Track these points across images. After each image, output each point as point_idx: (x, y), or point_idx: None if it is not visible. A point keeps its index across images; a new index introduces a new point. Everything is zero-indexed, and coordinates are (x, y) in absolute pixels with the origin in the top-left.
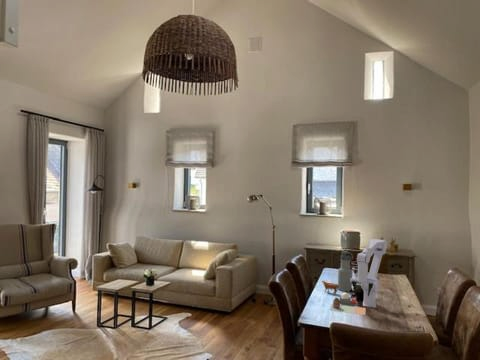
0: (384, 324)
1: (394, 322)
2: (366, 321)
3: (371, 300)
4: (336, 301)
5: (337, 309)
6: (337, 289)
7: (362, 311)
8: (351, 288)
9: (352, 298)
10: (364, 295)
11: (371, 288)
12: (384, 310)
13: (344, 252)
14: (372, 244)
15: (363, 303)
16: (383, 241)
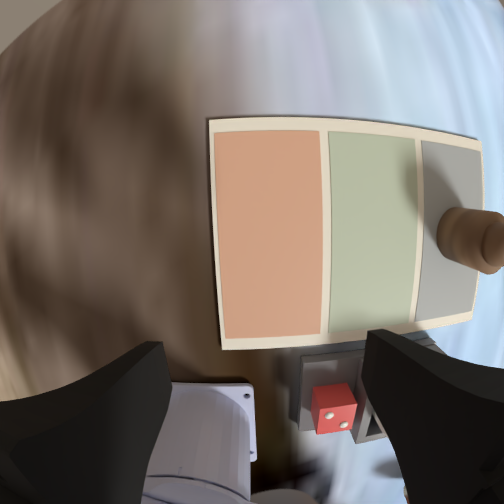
0: (86, 41)
1: (27, 119)
2: (204, 20)
3: (175, 423)
4: (494, 212)
5: (447, 187)
6: (407, 496)
7: (246, 229)
8: None
9: (348, 421)
10: (242, 465)
11: (23, 399)
12: (90, 348)
13: None
14: None
15: (251, 423)
16: None
